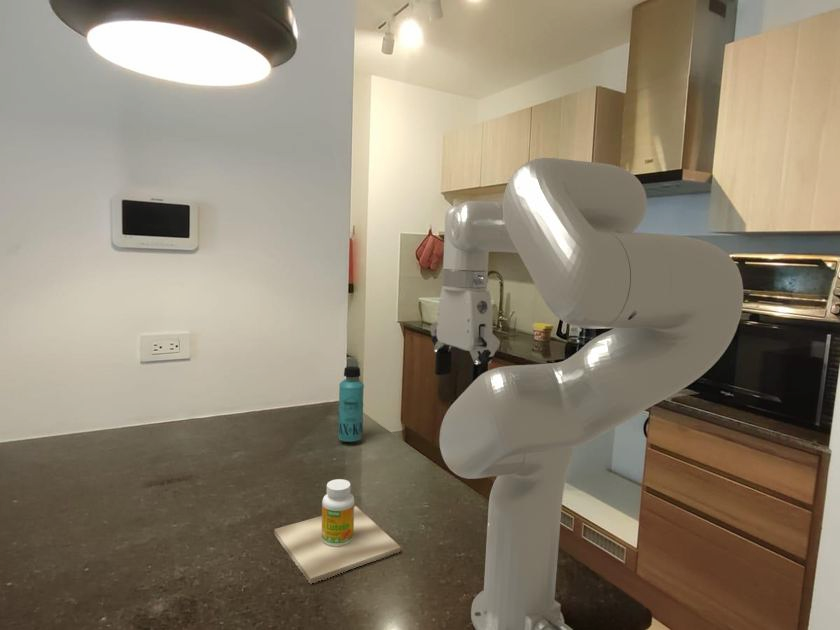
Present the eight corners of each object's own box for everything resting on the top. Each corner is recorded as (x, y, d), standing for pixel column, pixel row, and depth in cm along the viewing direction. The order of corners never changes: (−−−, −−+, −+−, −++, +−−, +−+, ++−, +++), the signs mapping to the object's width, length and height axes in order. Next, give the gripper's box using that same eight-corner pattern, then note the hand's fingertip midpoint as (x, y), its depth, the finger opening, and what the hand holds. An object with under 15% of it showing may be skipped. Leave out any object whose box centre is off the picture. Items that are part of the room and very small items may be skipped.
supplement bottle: (322, 548, 85) (323, 492, 84) (320, 531, 90) (321, 478, 89) (355, 545, 86) (356, 490, 85) (351, 528, 91) (352, 476, 90)
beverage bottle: (334, 439, 135) (335, 365, 133) (358, 436, 138) (360, 363, 136) (341, 448, 130) (342, 371, 127) (366, 445, 132) (368, 369, 130)
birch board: (400, 552, 86) (400, 547, 86) (310, 584, 77) (310, 578, 77) (356, 511, 99) (356, 506, 99) (274, 534, 90) (274, 529, 90)
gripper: (517, 284, 82) (511, 389, 84) (450, 277, 96) (446, 367, 98) (482, 285, 78) (476, 395, 80) (417, 277, 92) (413, 371, 94)
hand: (459, 380), depth 89 cm, fingers open, 9 cm apart
